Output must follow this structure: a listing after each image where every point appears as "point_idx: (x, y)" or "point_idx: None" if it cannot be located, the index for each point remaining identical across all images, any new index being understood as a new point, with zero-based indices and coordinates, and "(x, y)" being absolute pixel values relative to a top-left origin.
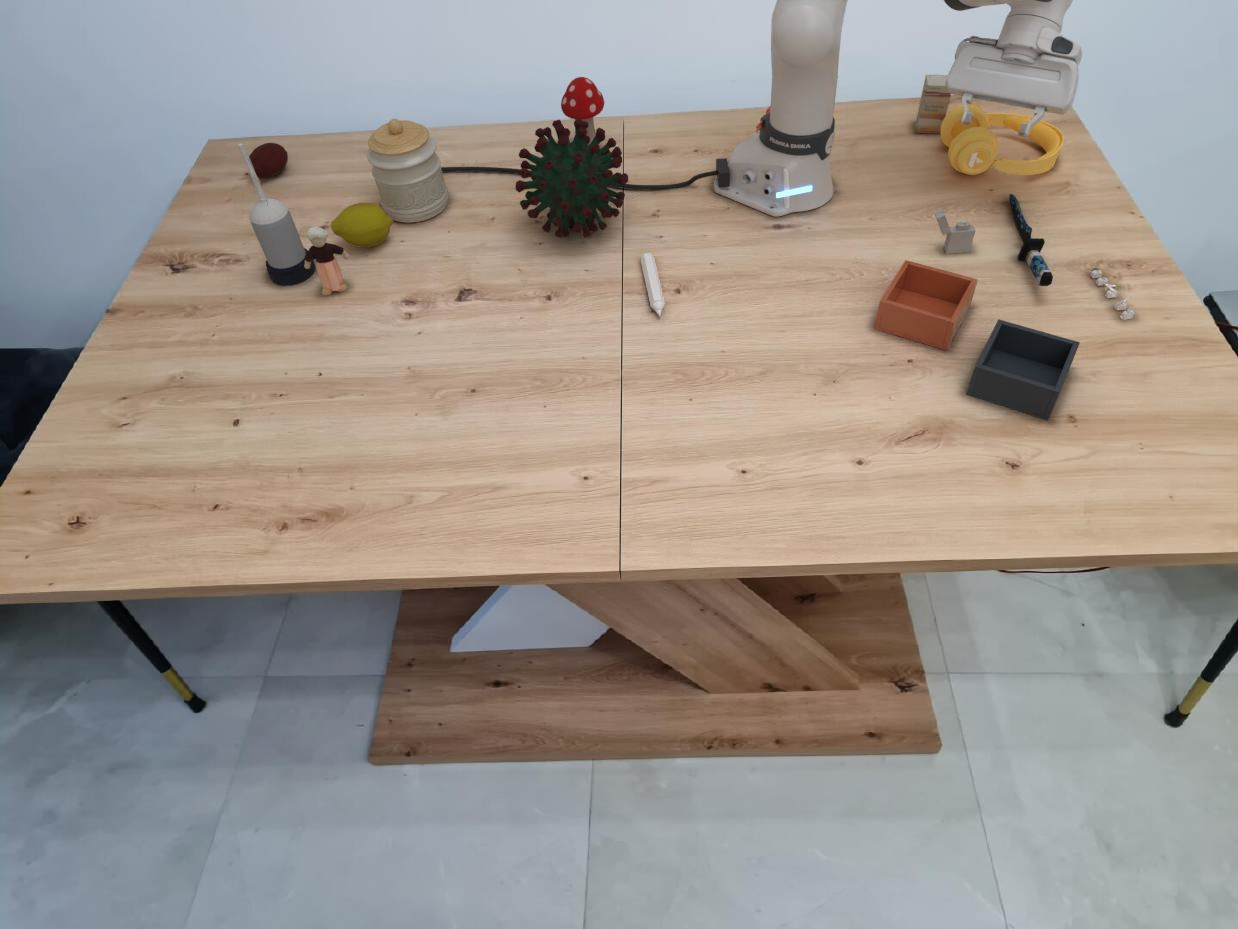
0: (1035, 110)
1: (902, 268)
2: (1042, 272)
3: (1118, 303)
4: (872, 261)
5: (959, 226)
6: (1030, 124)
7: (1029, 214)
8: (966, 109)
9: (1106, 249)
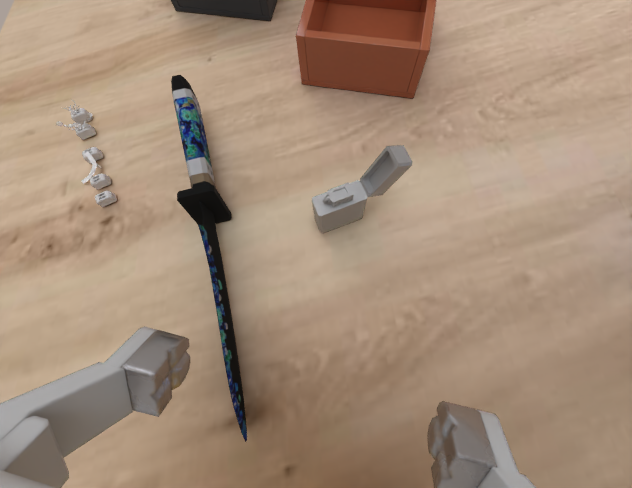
0: (30, 437)
1: (428, 28)
2: (188, 92)
3: (86, 126)
4: (476, 150)
5: (346, 183)
6: (110, 359)
7: (204, 378)
8: (514, 482)
9: (75, 286)
